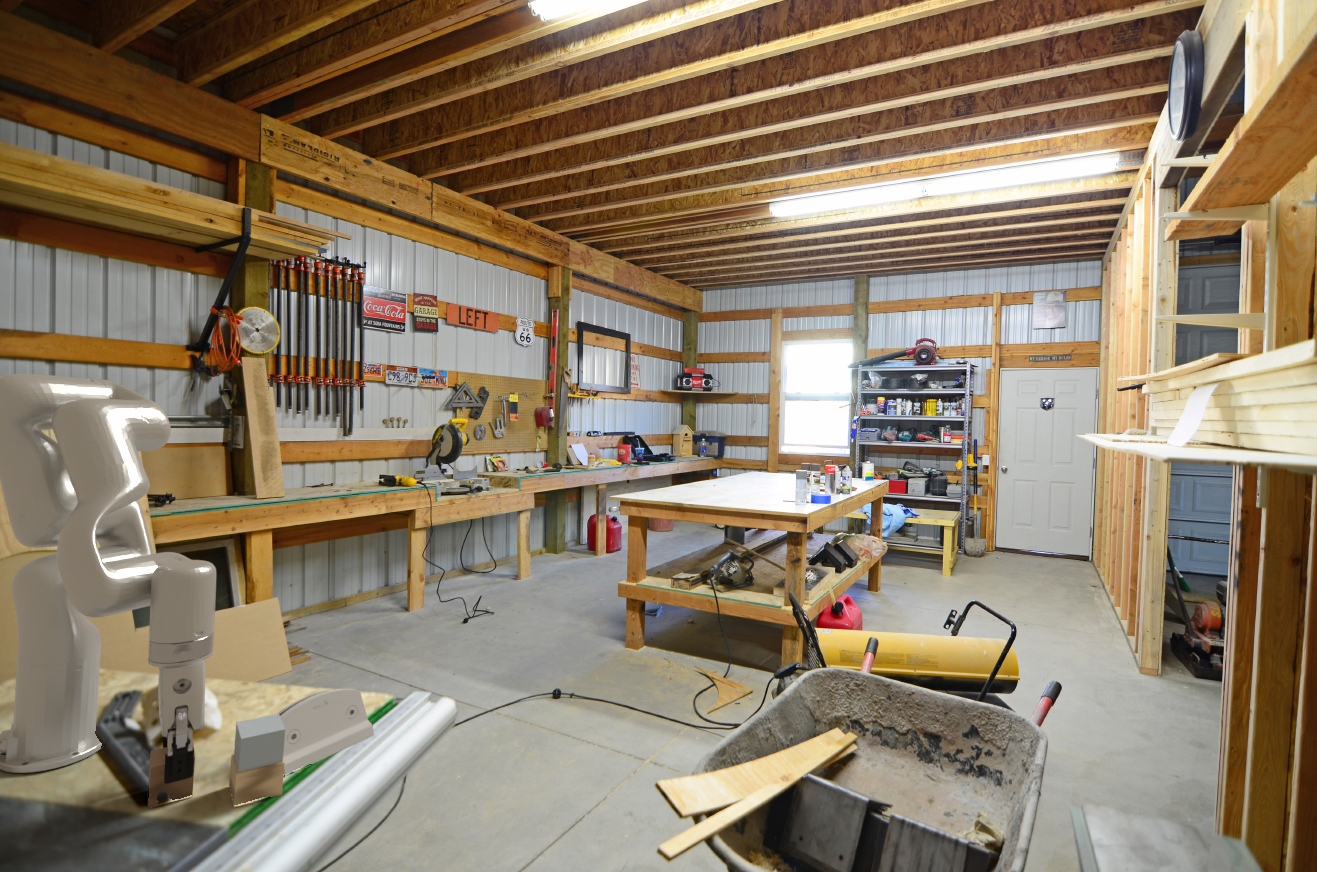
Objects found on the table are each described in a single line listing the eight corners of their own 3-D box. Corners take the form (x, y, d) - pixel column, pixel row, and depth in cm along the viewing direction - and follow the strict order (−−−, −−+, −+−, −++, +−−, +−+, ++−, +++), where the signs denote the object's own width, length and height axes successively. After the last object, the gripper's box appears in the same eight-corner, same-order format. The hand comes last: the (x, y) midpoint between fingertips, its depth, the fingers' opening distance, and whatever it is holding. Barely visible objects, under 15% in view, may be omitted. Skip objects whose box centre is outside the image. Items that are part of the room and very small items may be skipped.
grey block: (238, 772, 89) (241, 738, 89) (234, 754, 93) (236, 722, 93) (282, 761, 93) (285, 729, 93) (276, 744, 97) (278, 713, 97)
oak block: (233, 808, 89) (236, 774, 89) (229, 786, 94) (231, 754, 93) (281, 794, 93) (284, 762, 93) (275, 774, 98) (277, 743, 97)
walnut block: (147, 808, 87) (150, 767, 87) (148, 790, 91) (150, 750, 91) (192, 797, 90) (195, 757, 90) (190, 780, 94) (193, 741, 94)
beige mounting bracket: (282, 777, 97) (274, 712, 98) (265, 777, 99) (257, 713, 100) (375, 733, 112) (367, 677, 113) (359, 734, 114) (350, 679, 115)
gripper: (218, 661, 86) (213, 783, 86) (209, 625, 99) (205, 731, 99) (148, 673, 81) (143, 802, 81) (148, 634, 94) (144, 745, 95)
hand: (177, 763), depth 90 cm, fingers open, 9 cm apart
